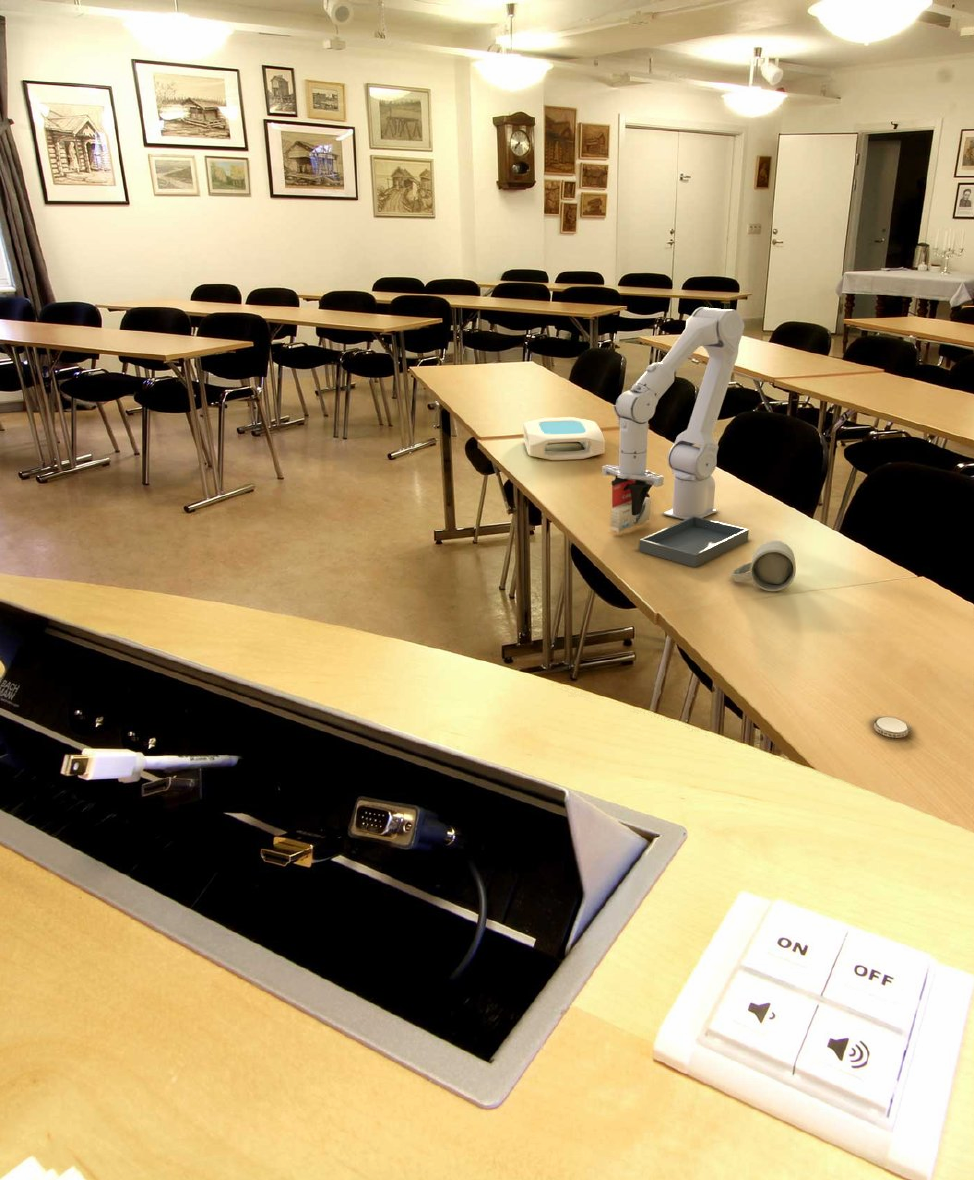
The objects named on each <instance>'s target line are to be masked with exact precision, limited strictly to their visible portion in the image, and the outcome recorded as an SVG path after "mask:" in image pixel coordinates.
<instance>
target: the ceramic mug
mask: <svg viewBox="0 0 974 1180" xmlns="http://www.w3.org/2000/svg"><path fill="white" fill-rule="evenodd" d="M796 572H797V565H796V557H795V553H794V552H793V550H792V548H791V547H790V546H789V545H788V544H787V543H785V542H783V541H781V540H769V541H765V542H763V543H761V544H760V545H759V546H758V547H757V548H756V549H755V551H754V552H753V555H752V559H751V562H748V563H745V564H742V565H740V566H738V567H737V568H735V569H734V570H733V571H732V573H731V575H732V577H733V578H732V579H733V580H734V582H736V583H747V582H749V581H752V583H754V585H755V586H756V587H758V588H759V589H761V590H763V591H766V592H779V591H782V590H784V589H786V588H787V587H789V586H790V585H791V584H792V583H793V582H794V580H795V577H796Z"/></svg>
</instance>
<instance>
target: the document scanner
mask: <svg viewBox="0 0 974 1180" xmlns="http://www.w3.org/2000/svg"><path fill="white" fill-rule="evenodd" d="M522 432H523V440H524V446H525V448H526V451H527V452H526V453H527V455H528V456H530V457H533V458H540V459H546V460H551V461H562V460H565V461H566V460H584V459H588V458H591V457H594V456H595V457H596V456H599V455H602V454H604V453H605V452H606V440H605V437H604V435H603V432H602V430H601V428H600V427H599V425H598V423H597V422H596V421H594V420H590V419H585V418H579V417H573V416H563V417H561V416H560V417H559V416H558V417H542V418H539V419H535V420H531V421H528V422H527V421H526V422H524V423H523V424H522ZM573 442H576V443H577V442H579V443H580V444H581V445H582V447H583V448H584V449H581V450H566V451H548V450H546V447H547V445H548V444H557V443H573Z"/></svg>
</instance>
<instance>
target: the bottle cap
mask: <svg viewBox="0 0 974 1180" xmlns="http://www.w3.org/2000/svg"><path fill="white" fill-rule="evenodd" d="M873 728H874V730H875V731H876V732H878V733H879V734H881V735H883V736H885V737H888V738H895V739H896V738H899V739H900V738H904V737H907V736H908V735H909V731H910V726H909V724H908V723H907V722H905V721H904V720H902V719H900V718H897V717H893V716H881V717H877V718H876V719H875V720H874V724H873Z"/></svg>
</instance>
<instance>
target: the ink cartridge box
mask: <svg viewBox="0 0 974 1180" xmlns="http://www.w3.org/2000/svg"><path fill="white" fill-rule="evenodd" d="M632 483H635V481H633V480H628V481H626V482H623V483H620V484H617V485H615V486H612V485H611V513H610V527H609V529H610V531H613V532H615V533H621V532H623V531H626V530H629V529H631V528H634V527H635V526H638V525H641V524H643V523H646V522H648V521H649V520H650V517H651V503H652V498H651V497H650V498H648V497H645V500H644V503H643V506H642V509H641V513H640V514H638V515H635V516H634V515H632V499H631V492H630V489H628V490H625V491H623V489H624V487H625V486H626V485H627V484H632Z"/></svg>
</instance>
